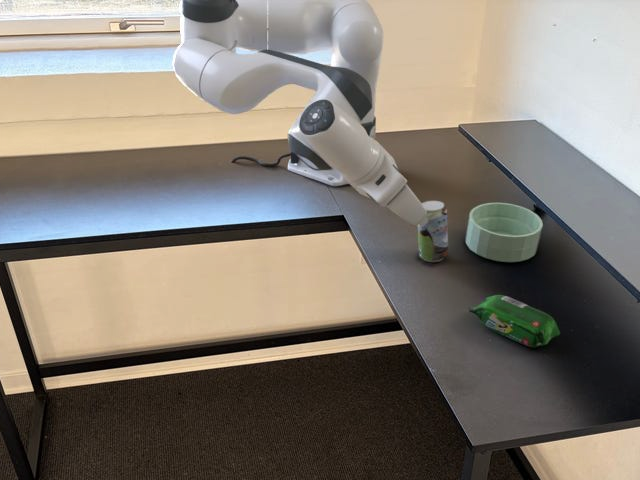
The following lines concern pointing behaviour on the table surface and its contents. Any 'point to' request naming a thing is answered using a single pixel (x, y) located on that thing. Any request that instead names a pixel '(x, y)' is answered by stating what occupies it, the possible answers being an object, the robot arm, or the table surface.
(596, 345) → the table surface
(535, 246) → the bowl
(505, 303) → the snack package
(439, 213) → the beverage can
